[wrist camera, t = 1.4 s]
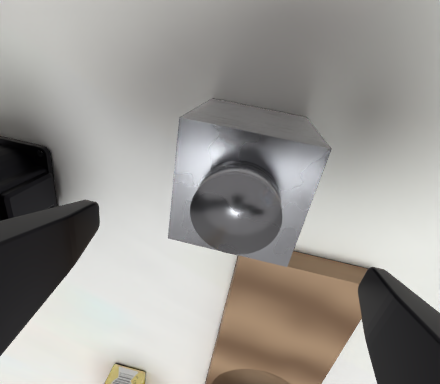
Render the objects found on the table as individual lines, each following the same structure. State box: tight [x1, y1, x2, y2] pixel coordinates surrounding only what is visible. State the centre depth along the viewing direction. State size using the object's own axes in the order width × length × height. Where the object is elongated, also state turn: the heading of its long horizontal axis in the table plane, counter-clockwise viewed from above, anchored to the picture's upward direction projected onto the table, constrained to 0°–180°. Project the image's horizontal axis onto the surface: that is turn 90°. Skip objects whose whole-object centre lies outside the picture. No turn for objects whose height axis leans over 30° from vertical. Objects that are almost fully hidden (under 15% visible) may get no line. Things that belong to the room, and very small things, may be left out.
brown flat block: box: [205, 251, 368, 384], centre depth 23 cm, size 22×10×5 cm, turn 170°
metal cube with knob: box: [168, 98, 331, 267], centre depth 14 cm, size 6×6×8 cm
